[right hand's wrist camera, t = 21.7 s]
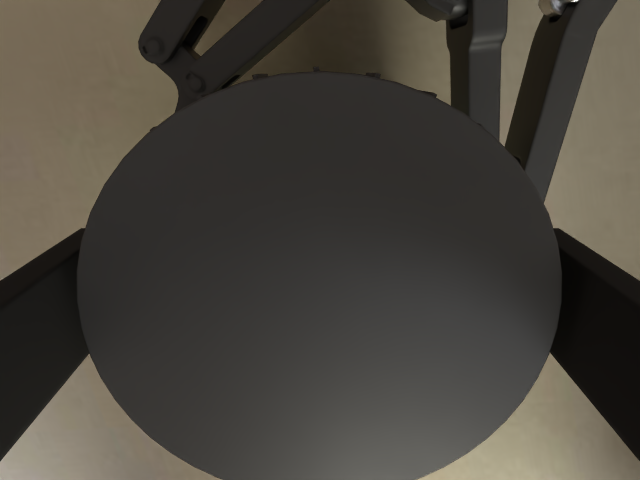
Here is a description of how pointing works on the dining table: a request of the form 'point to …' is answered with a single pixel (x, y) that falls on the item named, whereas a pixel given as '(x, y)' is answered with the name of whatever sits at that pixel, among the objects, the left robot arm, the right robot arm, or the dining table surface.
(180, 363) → the lid
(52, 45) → the dining table surface
